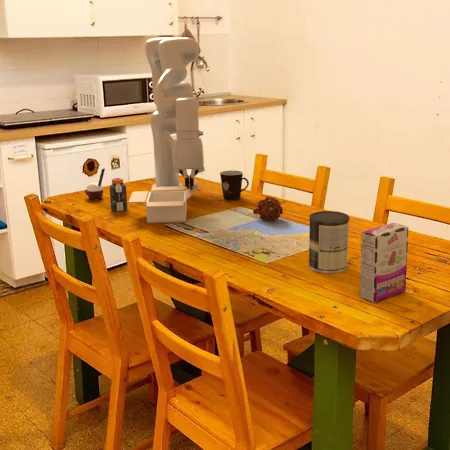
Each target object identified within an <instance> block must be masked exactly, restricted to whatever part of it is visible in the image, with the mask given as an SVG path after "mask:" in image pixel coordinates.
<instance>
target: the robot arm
mask: <svg viewBox="0 0 450 450" xmlns="http://www.w3.org/2000/svg"><path fill="white" fill-rule="evenodd" d="M144 46H145V47H144V48H145V49H144V51H145V56H146V59H147V62H148V64H149V67H150V70H151V82H152V83H151V84H152V99H153V102H154V105H155V106H156V111H154V112H152V113H151V115H150V118H149V120H150V121H149V123H150V127H151V133H152V141H153V142H152V143H153V154H154V155H153V156H154V175H155V183H153V184H152V186H151V188H152V187H171V186H185V188H186V189H187V190H189V186H190V190H192V187H194V182H195V180H194V179H195V177H196V176H197V175H198V174H199V173H204V172H205V171H206V170H205V166H204V164H205V159H204V158H205V157H204V147H203V139H202V138H201V136H204V131H201V130H200V128H199V127H200V126H199V110H200V108H199V107H200V106H199V100H198V99H197V97H196V96H195V95H194V91H193V90H194V89H193V86H192V85H191V83H189V82H187V81H184V80H186V79H187V76H188V70H187V66H186V63H194V62H196V61H198V59H199V53H200V51H199V46H198V43H197V41H196V39H194V38H192V37H153V38H150V39H148V40H146V42H145V45H144ZM174 134H175V135H176V138H175V139H174V138H173V137H172V135H174ZM188 170H191V172H190V175H188ZM179 174H180V175H181V176H182V177H184V185H183V183H181V182H180V179H179V177H180V176H179Z"/></svg>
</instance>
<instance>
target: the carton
mask: <svg viewBox="0 0 450 450" xmlns="http://www.w3.org/2000/svg"><path fill="white" fill-rule="evenodd" d="M185 189H186V187H185V185H183V186H171V187H152V186H151V189H150V191H148V190H145V191H144V190H143V191H142V190H141V191H132V192H131V195H130V198H129V199H128V201H127V204H144V203H145V210H146V211H145V212H146V224H172V223H173V224H175V223H177V224H179V223H187V215H188V213H187V212H188V208H187V207H188V206H187V203H188V202H187V201H188V200H186V190H185Z"/></svg>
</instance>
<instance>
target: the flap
mask: <svg viewBox="0 0 450 450" xmlns="http://www.w3.org/2000/svg"><path fill="white" fill-rule="evenodd" d="M199 186H200V185H199V179H198V178H197V179H196V180H194V187H192V190H190V185H189V190H187V188H185V189H186V190H185V191H186V200H187V201H188V200H189V199H191V197H192V196H193V195H194V194H196V192H197V191H199Z"/></svg>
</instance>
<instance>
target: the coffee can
mask: <svg viewBox="0 0 450 450" xmlns="http://www.w3.org/2000/svg"><path fill="white" fill-rule="evenodd" d="M308 217H309V232H308V233H309V234H308V235H309V236H308V238H309V242H308V243H309V245H308V249H309V250H308V268H309V269H310V270H311V271H313V272H316V273H320V274H339V273H342V272H344V271H346V270H347V269H348V250H349V246H348V245H349V227H350V226H349V224H350V223H349V221H350V215H349V214H347V213H346V212H345V213H344V212H342V211H334V210H333V211H332V210H321V211H316V212H312V213H311V214H309V216H308Z"/></svg>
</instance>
